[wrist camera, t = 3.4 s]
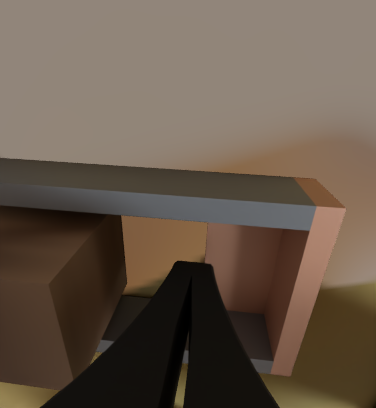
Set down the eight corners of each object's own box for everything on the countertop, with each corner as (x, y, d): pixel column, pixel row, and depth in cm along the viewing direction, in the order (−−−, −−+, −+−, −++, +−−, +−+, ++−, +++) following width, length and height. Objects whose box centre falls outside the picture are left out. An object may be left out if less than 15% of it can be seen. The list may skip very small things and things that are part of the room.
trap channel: (315, 178, 9) (346, 208, 7) (277, 324, 13) (290, 376, 10) (-32, 156, 10) (-100, 175, 8) (15, 294, 14) (-25, 335, 11)
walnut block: (119, 200, 11) (48, 284, 6) (127, 283, 13) (76, 392, 8) (19, 192, 11) (-117, 266, 7) (41, 274, 13) (-53, 374, 8)
